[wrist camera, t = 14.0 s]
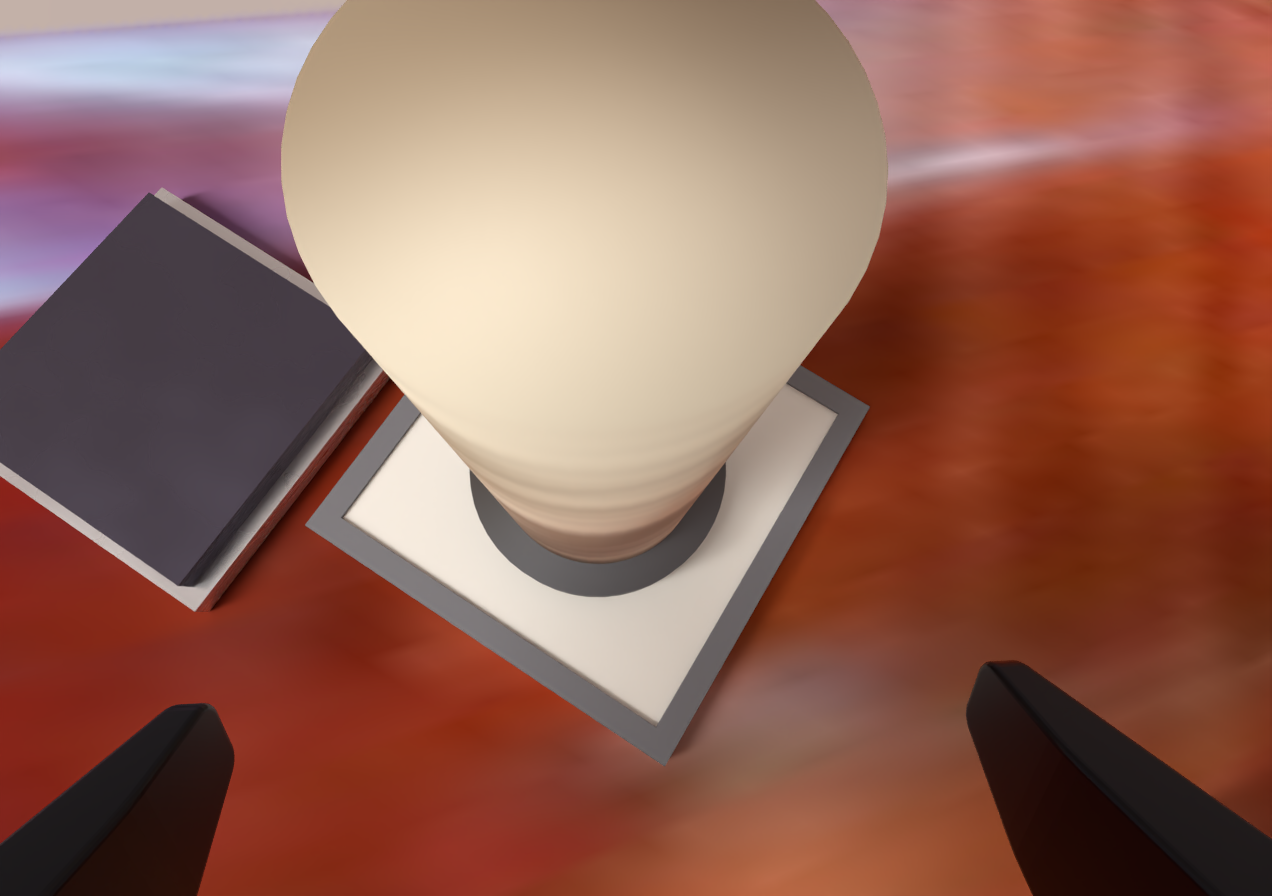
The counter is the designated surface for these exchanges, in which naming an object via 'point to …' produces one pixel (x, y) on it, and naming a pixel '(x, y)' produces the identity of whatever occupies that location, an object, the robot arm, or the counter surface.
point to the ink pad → (179, 397)
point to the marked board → (595, 626)
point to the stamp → (586, 244)
